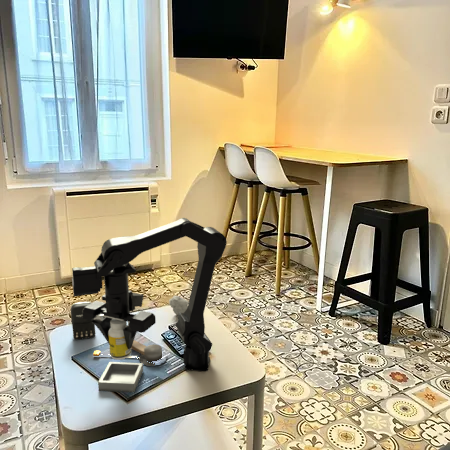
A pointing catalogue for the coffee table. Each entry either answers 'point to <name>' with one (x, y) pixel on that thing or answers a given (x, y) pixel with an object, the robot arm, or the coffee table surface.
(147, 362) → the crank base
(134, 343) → the crank
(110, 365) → the tray
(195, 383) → the coffee table surface
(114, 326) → the supplement bottle
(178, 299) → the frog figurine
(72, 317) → the battery charger
